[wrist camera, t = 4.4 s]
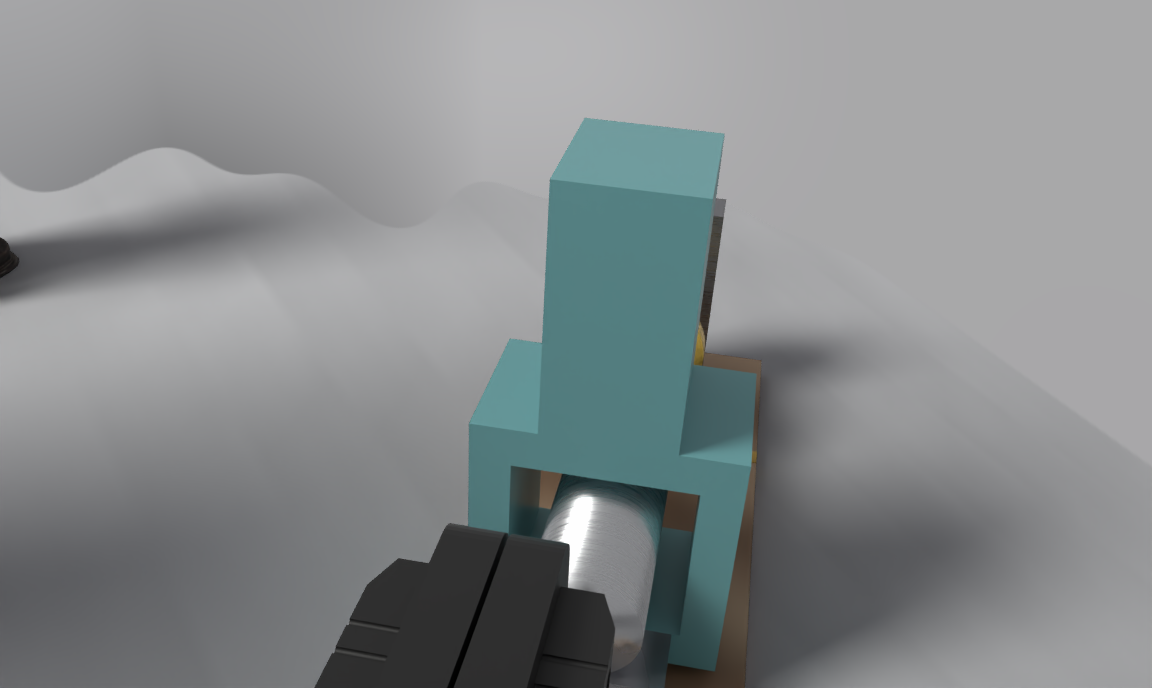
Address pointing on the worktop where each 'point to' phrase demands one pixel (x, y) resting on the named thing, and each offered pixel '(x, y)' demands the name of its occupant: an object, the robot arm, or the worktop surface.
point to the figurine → (6, 258)
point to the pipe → (625, 538)
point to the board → (729, 676)
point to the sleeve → (626, 369)
